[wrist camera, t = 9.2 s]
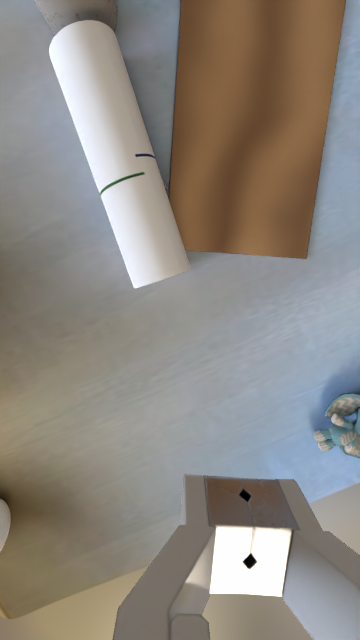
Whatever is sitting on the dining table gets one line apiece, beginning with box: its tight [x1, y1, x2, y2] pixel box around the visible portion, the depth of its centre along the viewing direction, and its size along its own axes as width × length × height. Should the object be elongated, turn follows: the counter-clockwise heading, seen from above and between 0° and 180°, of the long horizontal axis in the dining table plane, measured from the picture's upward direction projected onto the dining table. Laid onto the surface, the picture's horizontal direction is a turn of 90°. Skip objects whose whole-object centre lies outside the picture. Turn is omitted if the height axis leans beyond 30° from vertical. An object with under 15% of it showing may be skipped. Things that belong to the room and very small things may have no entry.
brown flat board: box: [169, 0, 346, 259], centre depth 36 cm, size 18×29×1 cm, turn 176°
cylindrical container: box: [49, 20, 191, 288], centre depth 34 cm, size 7×7×25 cm
